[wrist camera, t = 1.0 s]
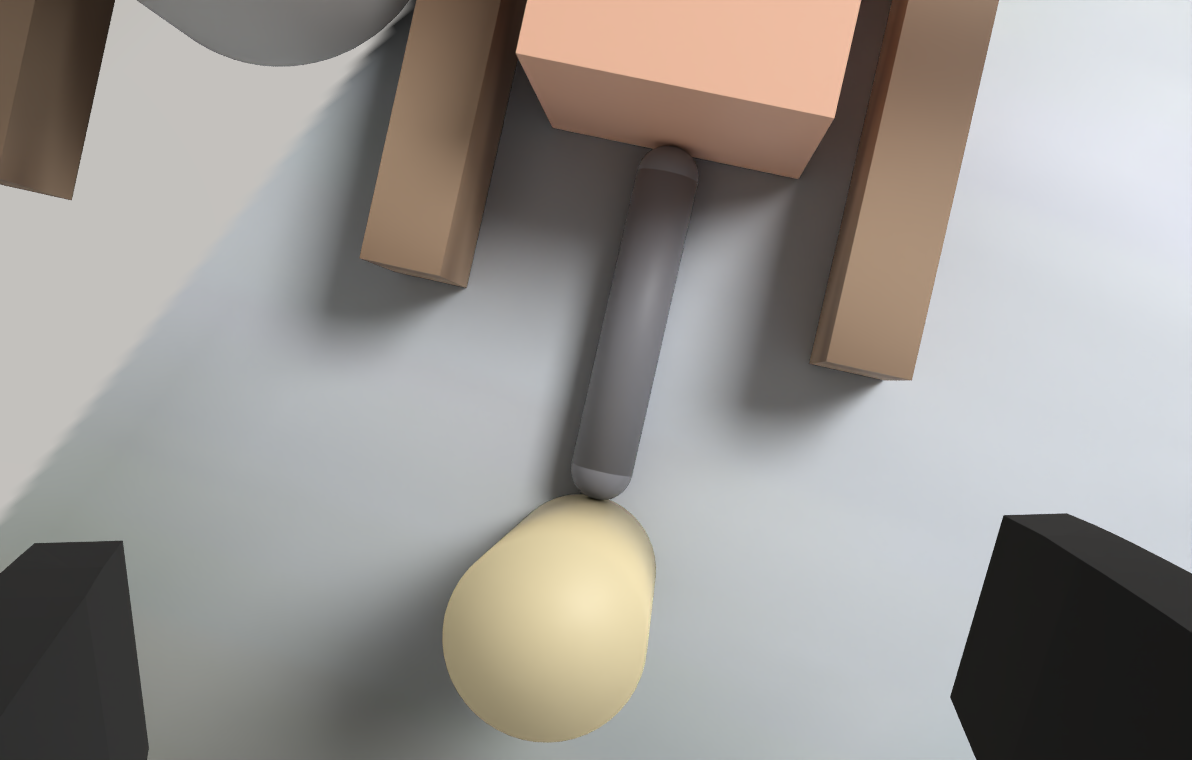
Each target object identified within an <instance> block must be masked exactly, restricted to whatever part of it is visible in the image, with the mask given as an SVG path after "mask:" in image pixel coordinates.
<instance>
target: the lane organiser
mask: <svg viewBox="0 0 1192 760" xmlns="http://www.w3.org/2000/svg"><path fill="white" fill-rule="evenodd" d="M998 2H999V0H892V2H891V7H890V11H889V15H888V20H887V24H886V28H885V33H884V37H883V42H882V46H881V50H880V55H879V59H878V64H877V68H876V72H875V77H874V81H873V86H872V90H871V94H870V99H869V103H868V108H867V112H866V116H865V121H864V125H863V129H862V134H861V138H860V143H859V147H858V151H857V156H856V160H855V165H854V169H853V173H852V178H851V182H850V187H849V191H848V195H847V200H846V204H845V208H844V213H843V217H842V222H841V226H840V230H839V235H838V239H837V244H836V248H835V252H834V257H833V261H832V266H831V270H830V274H829V279H828V283H827V288H826V292H825V296H824V301H823V305H822V309H821V314H820V318H819V323H818V327H817V331H816V336H815V340H814V345H813V349H812V353H811V358H810V362H809V364H813V365H817V366H822V367H827V368H831V369H836V370H840V371H845V372H849V373H854V374H858V375H863V376H867V377H872V378H876V379H881V380H912V377H913V373H914V368H915V364H916V360H917V355H918V351H919V347H920V342H921V338H922V334H923V329H924V325H925V320H926V316H927V312H928V307H929V303H930V299H931V294H932V290H933V286H934V281H935V277H936V272H937V268H938V264H939V259H940V255H941V251H942V246H943V242H944V238H945V233H946V229H947V224H948V220H949V216H950V211H951V207H952V203H953V198H954V194H955V190H956V185H957V181H958V177H959V172H960V168H961V163H962V159H963V155H964V150H965V146H966V142H967V137H968V133H969V129H970V124H971V120H972V115H973V111H974V107H975V102H976V98H977V94H978V89H979V85H980V81H981V76H982V72H983V67H984V63H985V59H986V54H987V50H988V46H989V41H990V37H991V33H992V28H993V24H994V20H995V15H996V11H997V6H998ZM114 3H115V0H0V184H1V185H5V186H10V187H14V188H19V189H24V190H28V191H32V192H37V193H41V194H46V195H50V196H55V197H59V198H64V199H68V200H72V197H73V191H74V187H75V183H76V178H77V173H78V169H79V164H80V160H81V154H82V150H83V146H84V141H85V137H86V132H87V127H88V123H89V118H90V113H91V109H92V104H93V99H94V95H95V90H96V86H97V81H98V76H99V72H100V67H101V62H102V58H103V53H104V49H105V44H106V39H107V34H108V30H109V25H110V21H111V16H112V12H113V7H114ZM526 4H527V0H416V4H415V9H414V13H413V18H412V22H411V27H410V31H409V36H408V40H407V45H406V49H405V54H404V59H403V63H402V68H401V72H400V77H399V81H398V86H397V90H396V95H395V99H394V104H393V108H392V113H391V117H390V122H389V126H388V131H387V135H386V140H385V145H384V149H383V154H382V158H381V163H380V167H379V172H378V176H377V181H376V185H375V190H374V194H373V199H372V203H371V208H370V212H369V217H368V221H367V226H366V231H365V235H364V240H363V244H362V249H361V253H360V259H363V260H366V261H368V262H371V263H373V264H376V265H379V266H381V267H384V268H386V269H389V270H391V271H394V272H398V273H402V274H407V275H411V276H416V277H420V278H425V279H429V280H434V281H438V282H443V283H447V284H452V285H456V286H461V287H465V288H467V284H468V279H469V275H470V270H471V266H472V261H473V257H474V252H475V248H476V243H477V239H478V234H479V230H480V225H481V221H482V216H483V212H484V207H485V203H486V198H487V194H488V189H489V185H490V180H491V176H492V172H493V167H494V163H495V158H496V154H497V149H498V145H499V140H500V136H501V131H502V127H503V122H504V118H505V113H506V109H507V104H508V100H509V95H510V91H511V86H512V82H513V77H514V73H515V68H516V64H517V59H518V57H517V55H516V49H517V44H518V40H519V35H520V31H521V26H522V22H523V17H524V13H525V8H526Z"/></svg>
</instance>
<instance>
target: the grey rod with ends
mask: <svg viewBox="0 0 1192 760" xmlns="http://www.w3.org/2000/svg"><path fill="white" fill-rule="evenodd" d="M860 3H861V0H527V4H526V8H525V13H524V17H523V22H522V26H521V31H520V35H519V40H518V44H517V49H516V55H517V57H518V59H519V61H520V63H521V65H522V67H523V69H524V71H525V73H526V75H527V77H528V79H529V81H530V83H531V85H532V87H533V89H534V91H535V93H536V95H537V97H538V99H539V101H540V103H541V105H542V107H543V109H544V111H545V113H546V115H547V118H548V120H549V122H550V124H551V126H552V128H556V129H561V130H565V131H570V132H575V133H580V134H585V135H589V136H594V137H599V138H604V139H609V140H613V141H618V142H623V143H628V144H632V145H637V146H642V147H647V148H652V149H653V150H651V151H650V152H649V153H647V154H646V155H645V156H644V158H643V159H642V160H641V162H640V164H639V167H638V170H637V174H636V178H635V183H634V187H633V192H632V196H631V201H630V205H629V210H628V214H627V219H626V223H625V227H624V232H623V236H622V241H621V245H620V250H619V254H618V259H617V263H616V267H615V272H614V276H613V281H612V285H611V290H610V294H609V299H608V303H607V307H606V312H605V316H604V321H603V325H602V330H601V334H600V339H599V343H598V348H597V352H596V356H595V361H594V365H593V370H592V374H591V379H590V383H589V388H588V392H587V396H586V401H585V405H584V410H583V414H582V419H581V423H580V428H579V432H578V437H577V441H576V445H575V450H574V454H573V459H572V465H571V475H572V478H573V481H574V483H575V485H576V487H577V488H578V489H579V491H581V492H582V493H583V494H573V495H566V496H562V497H558V498H555V499H553V500H550V501H548V502H546V503H544V504H543V505H541V506H539V507H538V508H537V509H535V510H534V511H533V512H531V513H530V514H529V515H528V516H527V517H526V518H525V519H524V520H522V521H521V522H520V523H519V524H518V525H517V526H516V527H515V528H513V529H512V530H511V531H510V532H509V533H508V534H507V535H505V536H504V537H503V538H502V539H501V540H500V541H499V542H498V543H496V544H495V545H494V546H493V547H492V548H491V549H490V550H489V551H487V552H486V553H485V554H484V555H483V556H482V557H481V558H479V559H478V560H477V561H476V562H475V563H474V564H473V565H472V566H471V567H470V568H469V569H468V570H467V572H466V573H465V574H464V575H463V576H462V578H461V579H460V581H459V582H458V584H457V586H456V587H455V589H454V591H453V593H452V595H451V598H450V600H449V602H448V606H447V609H446V612H445V617H444V623H443V637H442V643H443V652H444V658H445V662H446V666H447V670H448V672H449V675H450V678H451V680H452V682H453V684H454V686H455V688H456V690H457V692H458V693H459V695H460V696H461V698H462V699H463V700H464V702H465V703H466V704H467V705H468V707H469V708H470V709H471V710H472V711H473V712H474V713H475V714H476V715H477V716H478V717H480V718H481V719H482V720H483V721H484V722H486V723H487V724H489V725H490V726H492V727H494V728H495V729H497V730H499V731H501V732H503V733H505V734H507V735H510V736H513V737H516V738H519V739H522V740H528V741H533V742H560V741H566V740H570V739H575V738H577V737H580V736H583V735H586V734H588V733H590V732H592V731H594V730H596V729H598V728H599V727H601V726H602V725H604V724H605V723H607V722H608V721H609V720H611V719H612V718H613V717H614V716H615V715H616V714H617V713H618V712H619V711H620V710H621V709H622V708H623V706H624V705H625V704H626V703H627V702H628V700H629V699H630V697H631V695H632V694H633V692H634V691H635V689H636V687H637V684H638V682H639V680H640V678H641V675H642V672H643V668H644V665H645V659H646V653H647V645H648V637H649V628H650V620H651V612H652V603H653V595H654V586H655V578H656V564H655V556H654V552H653V548H652V545H651V542H650V540H649V537H648V536H647V534H646V532H645V530H644V529H643V527H642V526H641V524H640V523H639V522H638V521H637V519H636V518H635V517H634V516H633V515H632V514H631V513H629V512H628V511H627V510H626V509H624V508H623V507H621V506H620V505H618V504H617V503H615V502H613V501H610V500H608V499H612V498H614V497H616V496H618V495H619V494H621V493H622V492H623V491H624V490H625V489H626V488H627V486H628V484H629V483H630V480H631V477H632V473H633V469H634V465H635V460H636V456H637V451H638V447H639V442H640V438H641V434H642V429H643V425H644V420H645V416H646V411H647V407H648V402H649V398H650V394H651V389H652V385H653V380H654V376H655V371H656V367H657V363H658V358H659V354H660V349H661V345H662V340H663V336H664V332H665V327H666V323H667V318H668V314H669V309H670V305H671V301H672V296H673V292H674V287H675V283H676V278H677V274H678V269H679V265H680V261H681V256H682V252H683V247H684V243H685V238H686V234H687V230H688V225H689V221H690V216H691V212H692V207H693V203H694V199H695V194H696V190H697V185H698V179H699V176H698V169H697V165H696V163H695V161H694V159H693V158H692V157H695V158H699V159H704V160H709V161H714V162H719V163H723V164H728V165H733V166H738V167H742V168H747V169H752V170H757V171H762V172H766V173H771V174H776V175H781V176H785V177H790V178H795V179H799V177H800V176H801V174H802V172H803V171H804V169H805V167H806V166H807V164H808V162H809V160H810V159H811V157H812V155H813V154H814V152H815V150H816V149H817V147H818V145H819V143H820V142H821V140H822V138H823V137H824V135H825V133H826V132H827V130H828V128H829V127H830V125H831V123H832V121H833V120H834V118H835V113H836V109H837V105H838V100H839V96H840V91H841V87H842V83H843V78H844V74H845V69H846V65H847V61H848V56H849V52H850V47H851V43H852V39H853V34H854V30H855V25H856V21H857V17H858V12H859V8H860Z"/></svg>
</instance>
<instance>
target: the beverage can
mask: <svg viewBox="0 0 1192 760" xmlns="http://www.w3.org/2000/svg"><path fill="white" fill-rule="evenodd" d="M137 1H139V2H140V3H142V4H143V5H145V6H146V7H147V8H149V9H150V10H151V11H153V12H154V13H156V14H157V15H159V16H160V17H161V18H163V19H165V20H166V21H167V22H169V23H170V24H171V25H173V26H174V27H176V28H177V29H179V30H180V31H181V32H183V33H184V34H186V35H187V36H189V37H190V38H191V39H193V40H194V41H196V42H198V43H199V44H201V45H203V46H204V47H206V48H208V49H210V50H212V51H214V52H216V53H218V54H221V55H224V56H226V57H229V58H232V59H234V60H238V61H242V62H246V63H250V64H256V65H263V66H296V65H304V64H310V63H315V62H319V61H323V60H327V59H330V58H333V57H336V56H338V55H340V54H342V53H345V52H347V51H349V50H351V49H354V48H356V47H357V46H359V45H360V44H362V43H364V42H365V41H367V40H368V39H370V38H371V37H373V36H374V35H376V34H377V33H378V32H380V31H381V30H382V29H383V28H384V27H385V26H386V25H387V24H388V23H390V22H391V21H392V20H393V19H394V18H395V17H396V16H397V15H398V14H399V13H400V11H401V10H402V9H403V8H404V6H405V5H406V4H407V2H408V1H409V0H137Z"/></svg>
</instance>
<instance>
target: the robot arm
mask: <svg viewBox="0 0 1192 760" xmlns="http://www.w3.org/2000/svg"><path fill="white" fill-rule="evenodd" d="M950 698H951V700H952V703H953V705H954V707H955V710H956V712H957V715H958V717H959V719H960V722H961V724H962V727H963V729H964V731H965V734H966V736H967V739H968V741H969V743H970V746H971V748H972V751H973V753H974V755H975V757H976V760H1192V574H1191V573H1190V572H1188V571H1186V570H1184V569H1182V568H1180V567H1178V566H1176V565H1174V564H1172V563H1171V562H1169V561H1167V560H1165V559H1163V558H1161V557H1159V556H1157V555H1155V554H1153V553H1151V552H1149V551H1147V550H1145V549H1143V548H1141V547H1139V546H1137V545H1135V544H1133V543H1131V542H1129V541H1127V540H1125V539H1123V538H1121V537H1119V536H1117V535H1115V534H1113V533H1111V532H1109V531H1106V530H1104V529H1102V528H1100V527H1098V526H1095V525H1093V524H1091V523H1088V522H1086V521H1084V520H1081V519H1079V518H1076V517H1074V516H1072V515H1069V514H1034V515H1004V516H1003V519H1002V523H1001V526H1000V529H999V533H998V536H997V540H996V543H995V546H994V550H993V553H992V557H991V560H990V563H989V567H988V570H987V574H986V577H985V580H984V584H983V587H982V591H981V594H980V597H979V601H978V604H977V608H976V611H975V614H974V618H973V621H972V625H971V628H970V631H969V635H968V638H967V642H966V645H965V649H964V652H963V655H962V659H961V662H960V666H959V669H958V672H957V676H956V679H955V683H954V686H953V689H952V693H951V696H950ZM148 750H149V746H148V738H147V730H146V723H145V715H144V707H143V699H142V691H141V683H140V675H139V667H138V659H137V651H136V643H135V635H134V627H133V619H132V611H131V603H130V595H129V587H128V579H127V571H126V563H125V555H124V547H123V541H99V542H64V543H34V544H33V545H32V546H31V547H30V548H29V549H27V550H26V551H25V552H24V553H23V554H22V555H20V556H19V557H18V558H17V559H16V560H15V561H14V562H13V563H11V564H10V565H9V566H8V567H7V568H6V569H5V570H4V571H2V572H1V573H0V760H147V756H148Z"/></svg>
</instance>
